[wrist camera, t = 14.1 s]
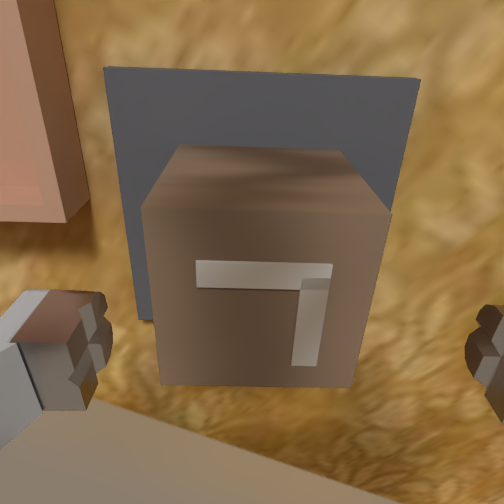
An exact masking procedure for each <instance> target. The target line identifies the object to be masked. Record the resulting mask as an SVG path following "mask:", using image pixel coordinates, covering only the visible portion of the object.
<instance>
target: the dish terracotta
mask: <svg viewBox="0 0 504 504" xmlns="http://www.w3.org/2000/svg"><path fill="white" fill-rule="evenodd" d="M89 199H90V195H89V190H88V185H87V179H86V174H85V168H84V163H83V158H82V152H81V147H80V141H79V136H78V131H77V125H76V120H75V114H74V109H73V104H72V98H71V93H70V87H69V82H68V76H67V71H66V66H65V60H64V55H63V49H62V44H61V39H60V33H59V28H58V22H57V17H56V12H55V6H54V1H53V0H0V221H11V222H49V223H67V222H68V221H69V220H70V219H71V218H72V217H73V216H74V215H75V214H76V212H77V211H78V210H79V209H80V208H81V207H82V206H83V205H84V204H85V203H86V202H87V201H88V200H89Z"/></svg>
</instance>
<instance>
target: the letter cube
mask: <svg viewBox="0 0 504 504" xmlns="http://www.w3.org/2000/svg"><path fill="white" fill-rule="evenodd" d="M141 215H142V223H143V232H144V241H145V250H146V258H147V267H148V276H149V285H150V293H151V302H152V311H153V319H154V328H155V337H156V346H157V354H158V363H159V372H160V381H161V385H196V386H258V387H320V388H351V386H352V382H353V378H354V374H355V369H356V365H357V361H358V357H359V353H360V348H361V344H362V340H363V336H364V332H365V327H366V323H367V319H368V315H369V310H370V306H371V302H372V298H373V294H374V289H375V285H376V281H377V277H378V273H379V268H380V264H381V260H382V256H383V251H384V247H385V243H386V239H387V235H388V230H389V226H390V222H391V218H392V214H391V212H390V211H389V210H388V209H387V207H386V206H385V205H384V204H383V203H382V201H381V200H380V199H379V198H378V196H377V195H376V194H375V193H374V192H373V190H372V189H371V188H370V187H369V185H368V184H367V183H366V182H365V180H364V179H363V178H362V177H361V176H360V174H359V173H358V172H357V171H356V169H355V168H354V167H353V166H352V165H351V163H350V162H349V161H348V160H347V158H346V157H345V156H344V155H343V153H342V152H341V151H340V150H332V149H303V148H274V147H245V146H216V145H187V144H179V146H178V148H177V149H176V151H175V152H174V154H173V156H172V157H171V159H170V160H169V162H168V164H167V165H166V167H165V169H164V170H163V172H162V173H161V175H160V177H159V178H158V180H157V181H156V183H155V185H154V186H153V188H152V190H151V191H150V193H149V194H148V196H147V198H146V199H145V201H144V202H143V204H142V206H141Z"/></svg>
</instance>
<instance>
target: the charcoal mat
mask: <svg viewBox="0 0 504 504" xmlns="http://www.w3.org/2000/svg"><path fill="white" fill-rule="evenodd" d="M103 71H104V78H105V85H106V92H107V99H108V106H109V113H110V120H111V128H112V135H113V142H114V149H115V156H116V163H117V170H118V177H119V184H120V191H121V198H122V205H123V212H124V219H125V226H126V233H127V240H128V247H129V254H130V261H131V269H132V276H133V283H134V290H135V297H136V304H137V311H138V318H139V320H154V319H153V311H152V302H151V293H150V285H149V276H148V267H147V258H146V250H145V241H144V232H143V223H142V215H141V206H142V204H143V202H144V201H145V199H146V198H147V196H148V194H149V193H150V191H151V190H152V188H153V186H154V185H155V183H156V181H157V180H158V178H159V177H160V175H161V173H162V172H163V170H164V169H165V167H166V165H167V164H168V162H169V160H170V159H171V157H172V156H173V154H174V152H175V151H176V149H177V148H178V146H179V144H187V145H216V146H245V147H274V148H303V149H332V150H340V151H341V152H342V153H343V155H344V156H345V157H346V158H347V160H348V161H349V162H350V163H351V165H352V166H353V167H354V168H355V169H356V171H357V172H358V173H359V174H360V176H361V177H362V178H363V179H364V180H365V182H366V183H367V184H368V185H369V187H370V188H371V189H372V190H373V192H374V193H375V194H376V195H377V196H378V198H379V199H380V200H381V201H382V203H383V204H384V205H385V206H386V207H387V209H388V210H389V211H391V207H392V203H393V198H394V194H395V190H396V185H397V181H398V177H399V173H400V168H401V164H402V160H403V155H404V151H405V147H406V142H407V138H408V134H409V129H410V125H411V121H412V116H413V112H414V108H415V103H416V99H417V95H418V90H419V86H420V82H421V79H417V78H406V77H379V76H353V75H326V74H299V73H273V72H246V71H219V70H193V69H166V68H139V67H113V66H108V67H104V68H103Z"/></svg>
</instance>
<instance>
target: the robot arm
mask: <svg viewBox="0 0 504 504" xmlns="http://www.w3.org/2000/svg"><path fill="white" fill-rule="evenodd" d="M107 308H108V307H107V303H106V299H105V295H104V294H102V293H101V292H94V291H75V290H57V289H54V290H51V289H28V290H26V291H24V292H23V293H22V294H21V295H20V296H19V297H18V298H17V300H16V301H15V302H14V303H13V304H12V305H11V306H10V308H9V309H8V310H7V311H6V312H5V313H4V314H3V315H2V317H1V318H0V450H1V449H2V448H3V447H4V446H6V445H7V444H8V443H9V442H10V441H11V440H12V439H14V438H15V437H16V436H17V435H18V434H19V433H21V432H22V431H23V430H24V429H25V428H26V427H27V426H28V425H30V424H31V423H32V422H33V421H34V420H36V418H38V417H39V416H40V415H41V414H42V413H43V411H86V410H87V408H88V405H89V403H90V401H91V399H92V396H93V394H94V392H95V390H96V388H97V385H98V380H97V376H96V373H98V372H99V371H100V370H102V369H103V368H104V367H106V365H107V362H108V360H109V358H110V355H111V349H112V344H113V332H112V326H111V323H110V322H109V321H108V320H107V319H106V318H105V317H104V314H105V312H106V310H107ZM476 321H477V323H478V325H479V328H478V329H476V330H475V331H473V332H472V333H471V334H469V336H468V339H467V342H466V344H465V360H466V363H467V366H468V369H469V371H470V372H471V374H472V376H473V377H474V378H475V379H476V380H478V381H479V382H480V383H482V384H483V385H485V386H486V390H485V397H486V399H487V400H488V402H489V403H490V405H491V407H492V408H493V410H494V411H495V413H496V415H497V416H498V418H499V419H500V421H501V423H504V305H485V306H484V307H483V308H482V309H481V310H480V311H479V313H478V316H477V318H476Z"/></svg>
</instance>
